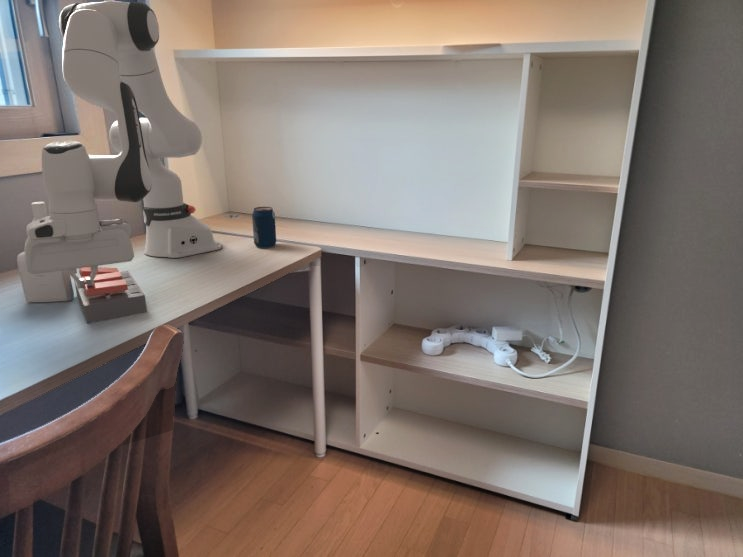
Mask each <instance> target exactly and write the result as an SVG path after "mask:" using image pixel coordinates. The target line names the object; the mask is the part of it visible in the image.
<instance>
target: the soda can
mask: <svg viewBox="0 0 743 557" xmlns="http://www.w3.org/2000/svg"><path fill="white" fill-rule="evenodd" d="M275 214H276V213H275V210H273V207H271V206H257V207H254V208H253V212H252V214H251V218H252V232H253V243H254V245H255V246H256V248H259V249H271V248H274V247H275V245H276V244H277V232H276V231H277V230H276V215H275Z"/></svg>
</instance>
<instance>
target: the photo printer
mask: <svg viewBox="0 0 743 557" xmlns="http://www.w3.org/2000/svg"><path fill="white" fill-rule="evenodd" d="M16 261H17V262H16V263H17V268H18V272H19V277H20V281H21V286H22V289H23V293H24V294H23V295H24V299H25V302H26V303H46V302H47V303H48V302H49V303H51V302H54V303H56V302H68V301H71V300H73V299H74V298H75V293H74V289H73V282H72V278H71V277H72V276H71V275H70V274H69V270H62V271H55V272H48V273H40V274H30V273H29V272H28V271H27V270H26V264H25V251H23V252H21V253H19V254H17V257H16Z"/></svg>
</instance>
